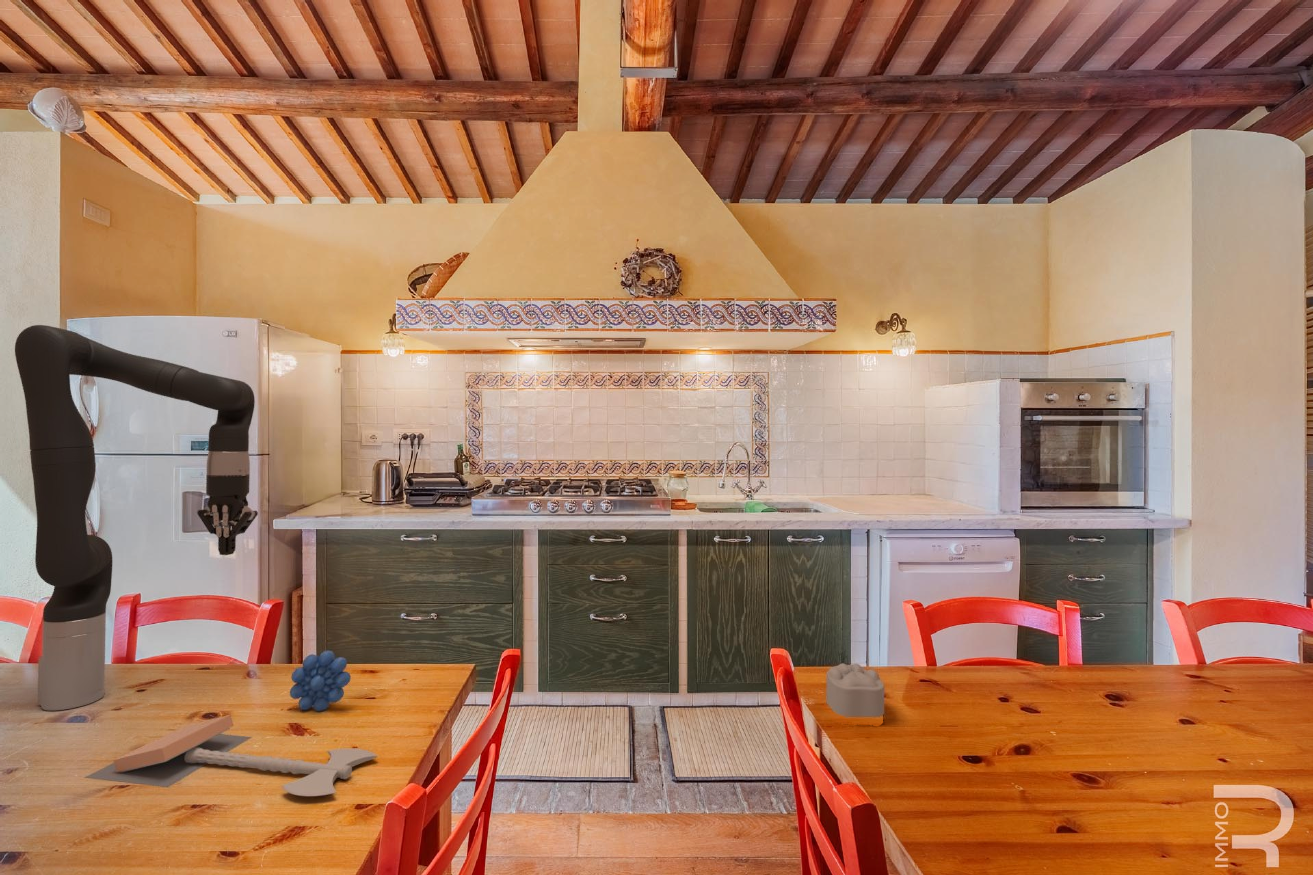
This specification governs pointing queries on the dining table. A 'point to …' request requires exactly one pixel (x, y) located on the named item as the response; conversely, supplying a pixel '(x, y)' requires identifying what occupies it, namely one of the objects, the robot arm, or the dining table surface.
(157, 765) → the mat
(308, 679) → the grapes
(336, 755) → the double-bladed axe
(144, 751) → the tile
